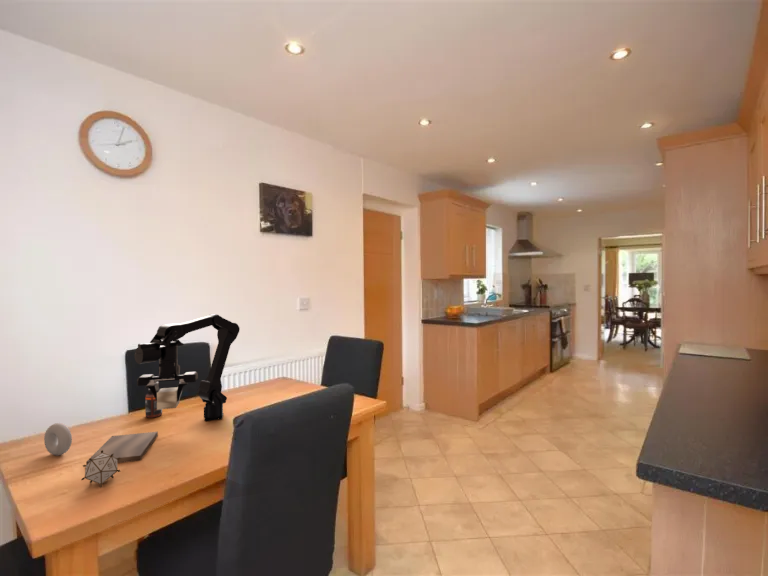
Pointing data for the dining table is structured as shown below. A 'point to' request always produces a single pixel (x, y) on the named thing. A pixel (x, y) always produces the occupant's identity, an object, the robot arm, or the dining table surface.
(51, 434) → the donut
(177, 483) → the dining table surface
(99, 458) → the game die
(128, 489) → the dining table surface
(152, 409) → the supplement bottle
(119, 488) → the dining table surface
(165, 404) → the maple cube
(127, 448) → the walnut board
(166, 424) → the dining table surface
